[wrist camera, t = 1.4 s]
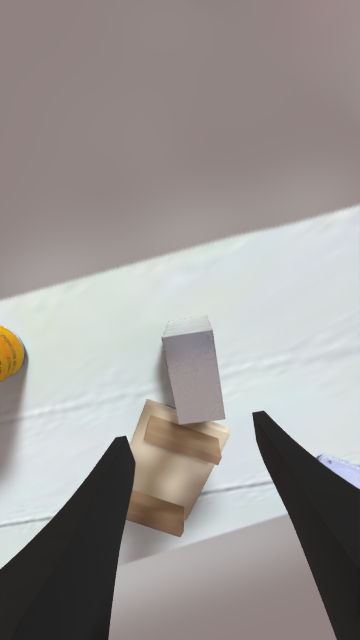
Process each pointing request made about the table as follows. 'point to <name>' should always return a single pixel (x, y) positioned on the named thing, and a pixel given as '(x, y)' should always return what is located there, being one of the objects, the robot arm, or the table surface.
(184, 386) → the aluminium block
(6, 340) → the beer can
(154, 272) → the table surface
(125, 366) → the table surface
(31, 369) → the table surface
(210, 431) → the birch cradle
